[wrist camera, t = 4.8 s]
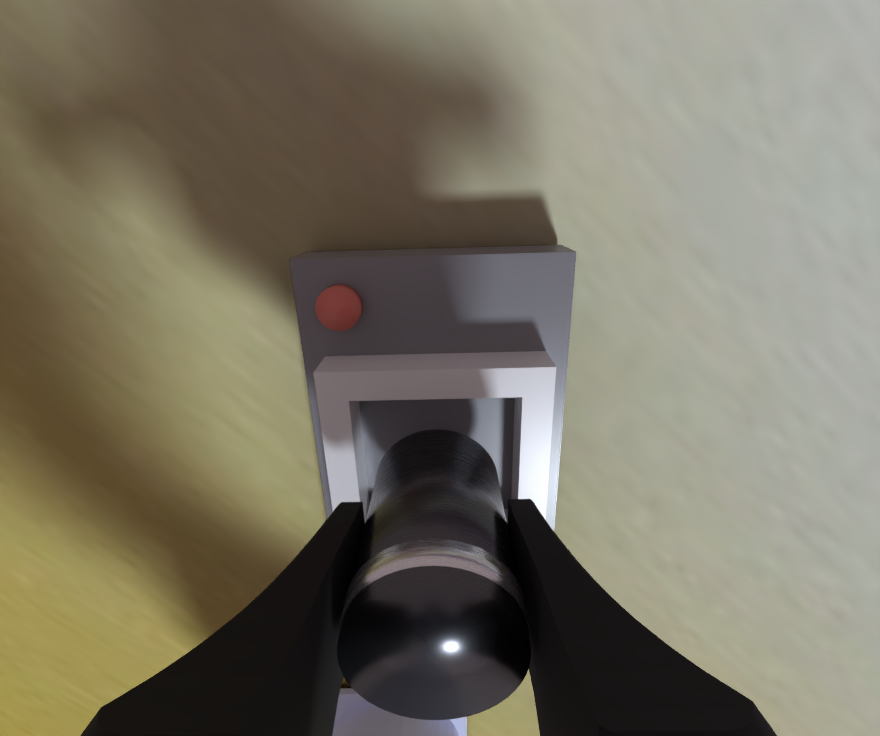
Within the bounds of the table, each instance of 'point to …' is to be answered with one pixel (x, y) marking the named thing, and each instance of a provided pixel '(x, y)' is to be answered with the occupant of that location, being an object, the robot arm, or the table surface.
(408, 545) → the lens
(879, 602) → the table surface
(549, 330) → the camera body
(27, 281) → the table surface
